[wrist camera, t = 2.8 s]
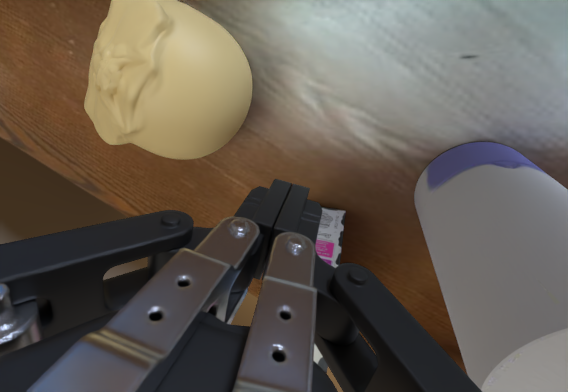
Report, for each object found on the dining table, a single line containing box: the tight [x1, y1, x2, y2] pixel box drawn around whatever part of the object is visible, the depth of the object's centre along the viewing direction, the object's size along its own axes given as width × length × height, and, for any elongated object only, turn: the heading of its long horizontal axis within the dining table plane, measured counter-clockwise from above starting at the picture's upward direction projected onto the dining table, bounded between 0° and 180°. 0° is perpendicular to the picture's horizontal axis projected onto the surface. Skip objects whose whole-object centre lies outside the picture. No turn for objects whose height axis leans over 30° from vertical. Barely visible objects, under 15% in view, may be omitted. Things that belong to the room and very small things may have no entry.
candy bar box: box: [313, 207, 346, 373], centre depth 29 cm, size 11×5×16 cm, turn 176°
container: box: [414, 142, 568, 392], centre depth 21 cm, size 10×10×20 cm
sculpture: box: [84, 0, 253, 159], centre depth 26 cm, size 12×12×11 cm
